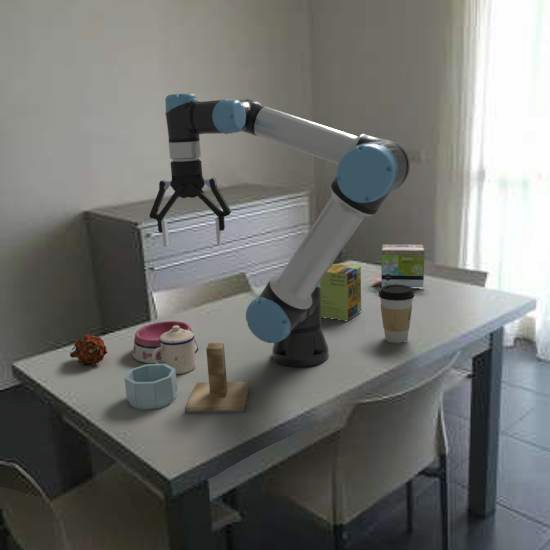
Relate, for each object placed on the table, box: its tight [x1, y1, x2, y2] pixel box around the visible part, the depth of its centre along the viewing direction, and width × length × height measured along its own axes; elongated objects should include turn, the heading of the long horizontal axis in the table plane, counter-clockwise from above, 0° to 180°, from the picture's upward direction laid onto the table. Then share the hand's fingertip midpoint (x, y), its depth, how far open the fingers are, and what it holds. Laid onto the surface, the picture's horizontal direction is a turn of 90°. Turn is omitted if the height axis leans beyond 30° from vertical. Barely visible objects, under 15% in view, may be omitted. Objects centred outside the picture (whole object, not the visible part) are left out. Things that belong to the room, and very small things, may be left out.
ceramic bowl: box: [124, 364, 178, 410], centre depth 145 cm, size 11×11×6 cm
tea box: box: [380, 244, 425, 288], centre depth 225 cm, size 15×10×15 cm, turn 80°
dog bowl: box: [131, 320, 199, 365], centre depth 174 cm, size 18×19×7 cm
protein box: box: [320, 263, 362, 322], centre depth 198 cm, size 10×15×16 cm
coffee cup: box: [378, 285, 415, 344], centre depth 174 cm, size 10×10×15 cm
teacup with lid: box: [152, 325, 197, 375], centre depth 161 cm, size 12×9×12 cm
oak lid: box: [185, 342, 251, 412], centre depth 142 cm, size 13×13×13 cm
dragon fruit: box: [69, 334, 108, 366], centre depth 169 cm, size 8×8×12 cm
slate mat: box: [185, 386, 251, 414], centre depth 144 cm, size 13×13×1 cm
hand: (192, 244), depth 156 cm, fingers open, 13 cm apart
